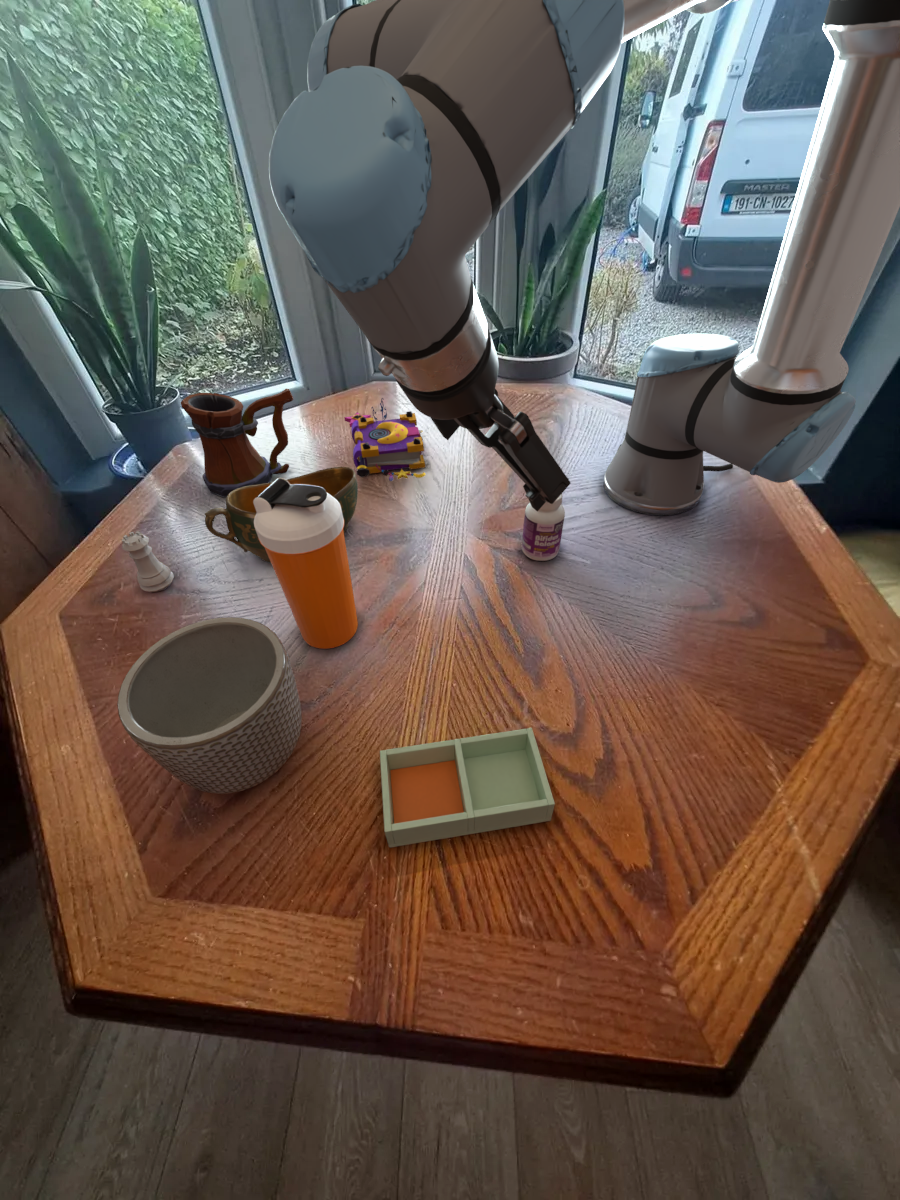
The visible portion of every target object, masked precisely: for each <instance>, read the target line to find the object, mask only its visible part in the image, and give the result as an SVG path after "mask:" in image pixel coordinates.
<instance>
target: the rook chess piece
mask: <svg viewBox="0 0 900 1200" xmlns="http://www.w3.org/2000/svg"><path fill="white" fill-rule="evenodd" d="M128 534H129V536H128V535H126V534H124V535H123V536H122V539H121V542H122V544H121V549H122V550H123V551H126V552H127V553H128V555H129V558H130V559H132V560H133V562H134V564H135V566H136V569H137V571H136V574H137V576H136V579H137V584H139V587H140V589H141V590H143V591H145V592H149V593H157V592H161V591H164V590H165V589H167V588H168V587H170V585H171V584H172V583H173V580H174V578H175V575H174V573H173V572H172V570H171V568H170V567H169V566H167V565H166V564H165V563H163V562H161V561H159V559H158V558H157V556H156V555H155V554H154V552H153V548H152V546H150V545H149V542H150V538H149V537H148V536H147V535H145V534H143V532H141V531H136V532H135V533H134V531H130V532H128Z"/></svg>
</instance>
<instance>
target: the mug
mask: <svg viewBox="0 0 900 1200" xmlns="http://www.w3.org/2000/svg"><path fill="white" fill-rule="evenodd" d="M292 401H294V396H293V394H292V392H291V390H290V389H289V388H285V389H283V390H282V391H280V392H278V393H276V394H273V395H269V396H265V397H261V398H259V399H257V400H255V401H253V402H252V403H250V404H249V405H248V406H247V407H246V408H245V410H244V405H243V402H242V401H241V400H239V399H237V398H235V397H232V396H229V395H227V394H221V393H218V392H217V393H216V392H214V393H213V392H197V393H193V394H192V393H191V394H189V395H187V396H185V397H184V398H183V399H182V400H181V401H180V402H179V403H180V406H181V408H182V409H183V410H184V411H185V413H186V414H187V415H188V416H189V418H190V419H191V426H192V427H193V429H194V431H196V433H198V436H199V439H200V442H201V446H202V452H203V459H204V460H203V461H204V473H203V475H202V481H203V482H204V484H205V486H206V488H207V489H208V491H209V492H210V493H212V494H214V495H216V496H218V497H219V496H220V497H222V498H227V495H228V494H229V493H230V492H231V491H233V490H235V489H237V488H241V487H245V486H251V485H258V484H265V483H271V480H272V477H273V475H281V474H286V473H287V472H288V470H289V468H290V464H289V463H284V464H283V465H282V464H281V462H278V456H279V455H280V454H281V453H283V451H284V450H285V449H286V448H287V446H288V445H289V436H288V432H287V430H286V427H285V424H284V422H283V411H284V405H285V404H288V403H291V402H292ZM269 407H274V408H273V409H274V410H273V413H272V418H271V419H272V422H271V423H272V428H273V432H274V435H275V438H276V440H277V443H276V445H275V446H274V447H273V449H272V450H271V452H270V455H269V461H268V459H267V458H266V457H265V456H262V455H260V453H259V452H258V451H257V450H256V448H255V447H254V446H253V444H252V443H251V441H250V439H249V437H248V436H250V437H255V436H256V435H257V432H258V425H259V422H258V420H257V419H256V418H255V417H254V416H255V413H257V412H259V411H261V410H263V409H266V408H269ZM243 410H244V412H243Z"/></svg>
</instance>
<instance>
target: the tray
mask: <svg viewBox="0 0 900 1200" xmlns="http://www.w3.org/2000/svg"><path fill="white" fill-rule="evenodd" d="M537 743H538V742H537V740H536V736H535V734H534V730H533V727H527V728H521V729H513V730H507V731H501V732H494V733H488V734H487V733H486V734H480V735H475V736H468V737H461V738H455V739H448V740H441V741H435V742H434V741H433V742H428V743H422V744H414V745H407V746H402V747H394V748H388V749H387V748H386V749H381V750H379V762H380V763H379V764H380V779H381V780H380V782H381V796H382V813H383V815H382V816H383V829H384V836H385V839H386V843H387V845H388V848H389V849H390V848H396V847H402V846H407V845H408V846H409V845H413V844H420V843H425V842H432V841H436V840H444V839H450V838H455V837H461V836H467V835H473V834H478V833H479V834H480V833H485V832H491V831H498V830H503V829H509V828H515V827H521V826H526V825H532V824H533V825H534V824H539V823H546V822H551V821H552V817H553V813H554V809H555V806H556V803H555V799H554V796H553V793H552V790H551V786H550V783H549V780H548V776H547V773H546V770H545V766H544V764H543V759H542V757H541V752H540V750H539V747H538V744H537Z"/></svg>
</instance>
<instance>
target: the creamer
mask: <svg viewBox="0 0 900 1200" xmlns="http://www.w3.org/2000/svg"><path fill="white" fill-rule="evenodd" d="M355 471H356V470H354V469H353V468H351V467H350V466H334V467H328V468H324V469H323V468H322V469H319V470H316V471H313V472H309V473H306V474H302V475H299V476H295V477H291V478H287V479H286V480H287V481H288V482H289V483H290V484H304V485H313V486H319V487H322V488H324V489H325V490H326V492H327V493H329V494H330V495H331V496H333V497H334V498H335V499H337V501H338V502H339V503H340V506H341V510H342V514H343V518H344V528H343V531H344V533H345V532H346V531H347V529H348V528H349V524H350V521H351V520H352V518H353V516H354V514H355V511H356V508H357V503H358V496H359V487H358V486H359V485H358V479H357V473H356V472H355ZM271 483H272V482H269V483H265V484H258V485H251V486H245V487H241V488H237V489H235V490H233V491H231V492H230V493H229V494H228V495H227V497H225V507H213V508H211V509H209V510H208V511H206V512H204V516H205V517H204V525H205V527H206V529H207V531H208V532H209V533H211V534H212V535H213V536H215V537H217V538H220V539H223V540H225V541H229V542H231V543H232V544H234V545H236V546H238V547H239V548H240V549H242V550H243V552H244V553H247V552H249V553H251V554H252V555H254V556H256V557H258V558H259V559H261V560H262V561H264V562H265V563H270V564H271V561H270V559H269V557H268V554H267V552H266V550H265V547H264V546H263V545H261V543H260V541H259V539H258V535H257V532H256V530H255V527H254V518H255V515H256V513H257V512H256V509H255V506H254V503H253V501H254V499H255V498H256V497H257V496H258V495H259V494H260V493H261V492H262V491H264V490H265V489H266V488H267V487H268V486H269V485H270V484H271ZM218 515H219V516H220V515H223V516H224V518H225V523H226V527H227V530H228V532H227V533H223V532H220V531H218V530H217V529H216V528H214V526H213V525H214V524H213V523H214V522H215V519H216V517H217V516H218Z"/></svg>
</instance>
